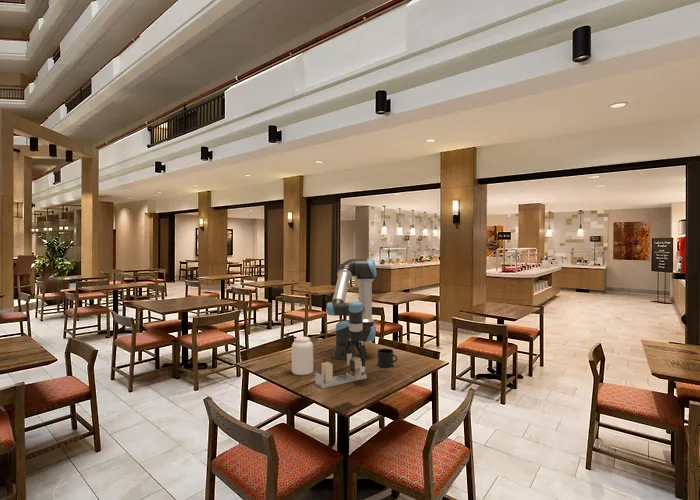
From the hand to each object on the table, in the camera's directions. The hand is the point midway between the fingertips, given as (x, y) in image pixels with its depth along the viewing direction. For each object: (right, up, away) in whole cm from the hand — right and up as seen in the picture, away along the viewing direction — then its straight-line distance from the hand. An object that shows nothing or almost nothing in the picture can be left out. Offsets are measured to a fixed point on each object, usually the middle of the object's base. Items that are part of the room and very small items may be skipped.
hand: (355, 368), depth 207 cm
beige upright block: (0, -3, 0) cm, 3 cm away
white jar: (-31, -5, +10) cm, 33 cm away
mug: (+20, -5, +21) cm, 29 cm away
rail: (-8, -5, -5) cm, 11 cm away
